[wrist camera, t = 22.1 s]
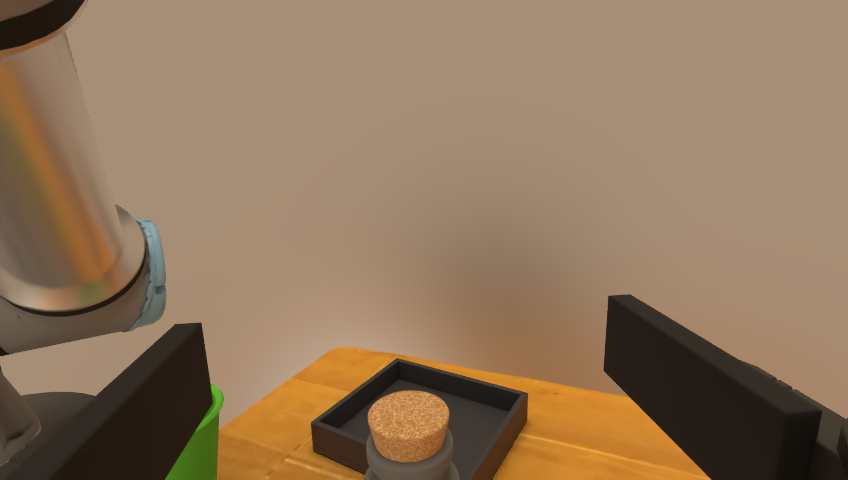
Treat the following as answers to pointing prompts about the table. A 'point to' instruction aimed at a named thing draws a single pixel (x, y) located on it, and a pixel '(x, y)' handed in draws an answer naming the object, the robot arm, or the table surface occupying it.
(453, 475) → the bottle
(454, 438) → the baking tray
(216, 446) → the cup
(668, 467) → the table surface
